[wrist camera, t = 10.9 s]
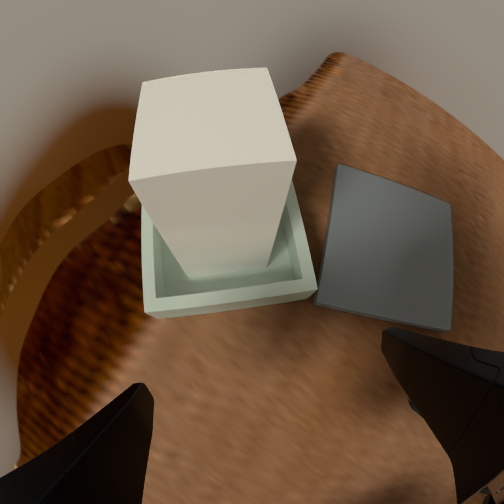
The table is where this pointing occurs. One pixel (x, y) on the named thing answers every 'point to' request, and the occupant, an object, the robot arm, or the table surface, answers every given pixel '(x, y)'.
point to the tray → (228, 274)
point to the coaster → (387, 252)
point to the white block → (213, 167)
